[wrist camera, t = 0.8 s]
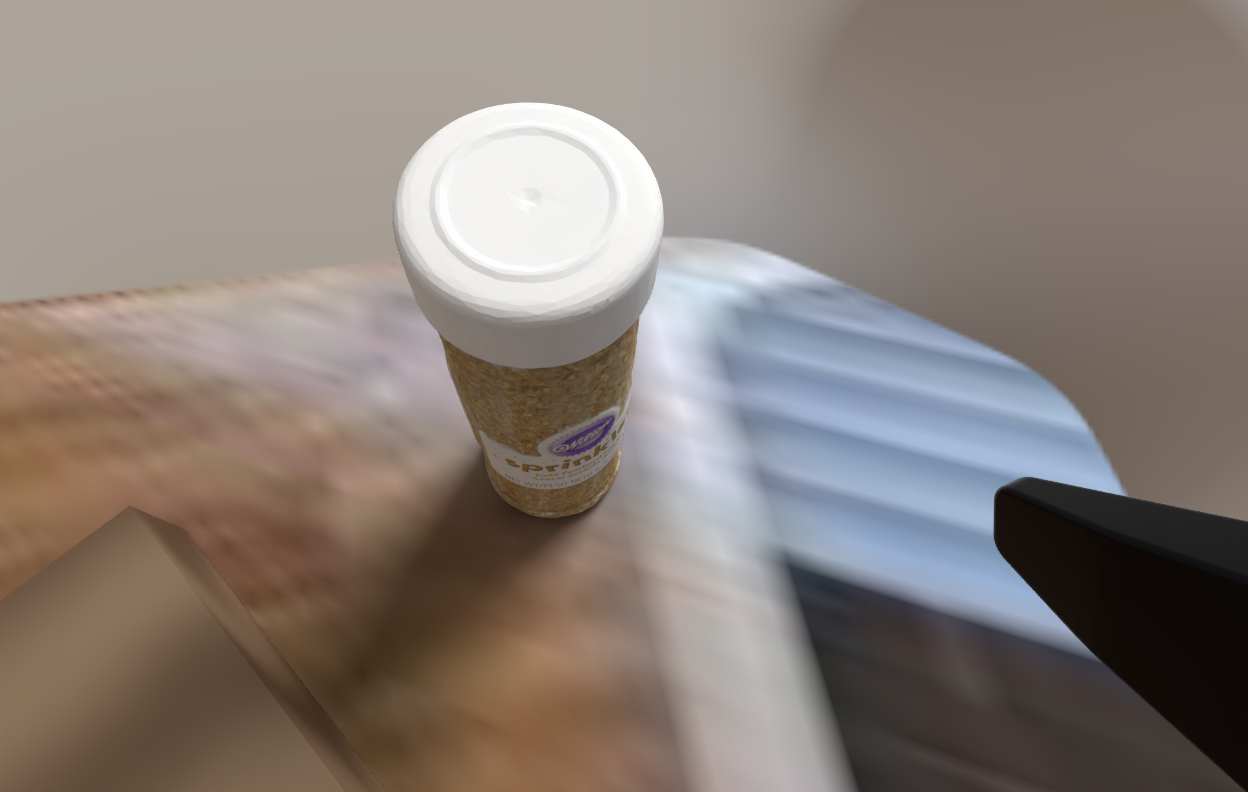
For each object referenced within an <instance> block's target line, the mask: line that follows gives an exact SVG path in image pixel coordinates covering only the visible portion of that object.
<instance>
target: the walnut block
mask: <svg viewBox="0 0 1248 792" xmlns="http://www.w3.org/2000/svg"><path fill="white" fill-rule="evenodd" d="M0 792H386V791H385V789H384V788H383V787H382V785H381V784H380V783H379V781H378V780H377V779H376V778H375V776H374V775H373V774H372V772H371V771H370V770H369V769H368V767H367V766H366V765H365V763H364V762H363V761H362V759H361V758H360V757H359V756H358V754H357V753H356V752H355V750H354V749H353V748H352V746H351V745H350V744H349V743H348V741H347V740H346V739H345V737H344V736H343V735H342V733H341V732H340V731H339V730H338V728H337V727H336V726H335V724H334V723H333V722H332V720H331V719H330V718H329V717H328V715H327V714H326V713H325V711H324V710H323V709H322V707H321V706H320V705H319V704H318V702H317V701H316V700H315V698H314V697H313V696H312V695H311V693H310V692H309V691H308V689H307V688H306V687H305V685H304V684H303V683H302V682H301V680H300V679H299V678H298V676H297V675H296V674H295V672H294V671H293V670H292V669H291V667H290V666H289V665H288V663H287V662H286V661H285V659H284V658H283V657H282V656H281V654H280V653H279V652H278V650H277V649H276V648H275V646H274V645H273V644H272V643H271V641H270V640H269V639H268V637H267V636H266V635H265V633H264V632H263V631H262V630H261V628H260V627H259V626H258V624H257V623H256V622H255V621H254V619H253V618H252V617H251V615H250V614H249V613H248V611H247V610H246V609H245V608H244V606H243V605H242V604H241V602H240V601H239V600H238V598H237V597H236V596H235V595H234V593H233V592H232V591H231V589H230V588H229V587H228V585H227V584H226V583H225V582H224V580H223V579H222V578H221V576H220V575H219V574H218V572H217V571H216V570H215V569H214V567H213V566H212V565H211V563H210V562H209V561H208V559H207V558H206V557H205V556H204V554H203V553H202V552H201V550H200V549H199V548H198V547H197V545H196V544H195V543H194V541H193V540H192V539H191V537H190V536H189V535H188V534H187V532H186V531H185V530H184V529H182V528H180V527H177V526H175V525H173V524H170V523H168V522H166V521H163V520H161V519H159V518H156V517H154V516H152V515H150V514H147V513H145V512H143V511H140V510H138V509H136V508H133V507H131V506H129V507H127V508H126V509H125V510H123V511H122V512H121V513H119V514H118V515H116V516H115V517H114V518H112V519H111V520H110V521H108V522H107V523H106V524H104V525H103V526H101V527H100V528H99V529H97V530H96V531H95V532H93V533H92V534H91V535H89V536H88V537H86V538H85V539H84V540H82V541H81V542H80V543H78V544H77V545H76V546H74V547H73V548H71V549H70V550H69V551H67V552H66V553H65V554H63V555H62V556H61V557H59V558H58V559H57V560H55V561H54V562H52V563H51V564H50V565H48V566H47V567H46V568H44V569H43V570H42V571H40V572H39V573H37V574H36V575H35V576H33V577H32V578H31V579H29V580H28V581H27V582H25V583H24V584H22V585H21V586H20V587H18V588H17V589H16V590H14V591H13V592H12V593H10V594H9V595H7V596H6V597H5V598H3V599H2V600H1V601H0Z"/></svg>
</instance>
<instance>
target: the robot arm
mask: <svg viewBox="0 0 1248 792" xmlns="http://www.w3.org/2000/svg"><path fill="white" fill-rule="evenodd" d="M994 541H995V544H996V547H997V549H998V551H999V552H1000V554H1001V555H1002V556H1003V558H1004V559H1005V560H1006V561H1007V562H1008V563H1009V564H1010V565H1011V566H1012V568H1013V569H1014V570H1015V571H1016V572H1017V573H1018V574H1019V575H1020V576H1021V577H1022V578H1023V579H1024V581H1025V582H1026V583H1027V584H1028V585H1029V586H1030V587H1031V588H1032V589H1033V590H1034V591H1035V592H1036V593H1037V595H1038V596H1039V597H1040V598H1041V599H1042V600H1043V601H1044V602H1045V603H1046V604H1047V605H1048V606H1049V608H1050V609H1051V610H1052V611H1053V612H1054V613H1055V614H1056V615H1057V616H1058V617H1059V618H1060V619H1061V621H1062V622H1063V623H1064V624H1065V625H1066V626H1067V627H1068V628H1069V629H1070V630H1071V631H1072V632H1073V634H1074V635H1075V636H1076V637H1077V638H1078V639H1079V640H1080V641H1081V642H1082V643H1083V644H1084V645H1085V646H1086V647H1087V648H1088V649H1089V650H1090V651H1091V652H1092V653H1093V654H1094V655H1095V656H1096V657H1097V658H1098V659H1100V660H1101V661H1102V662H1103V663H1104V664H1105V665H1106V666H1107V667H1108V668H1109V669H1110V670H1111V671H1112V672H1114V673H1115V674H1116V675H1117V676H1118V677H1119V678H1120V679H1121V680H1122V681H1124V682H1125V683H1126V684H1127V685H1128V686H1129V687H1130V688H1131V689H1132V690H1134V691H1135V692H1136V693H1137V694H1138V695H1139V696H1140V697H1141V698H1142V699H1143V700H1145V701H1146V702H1147V703H1148V704H1149V705H1150V706H1151V707H1152V708H1153V709H1155V710H1156V711H1157V712H1158V713H1159V714H1160V715H1161V716H1162V717H1163V718H1165V719H1166V720H1167V721H1168V722H1169V723H1170V724H1171V725H1172V726H1173V727H1175V728H1176V729H1177V730H1178V731H1179V732H1180V733H1181V734H1182V735H1183V736H1184V737H1186V738H1187V739H1188V740H1189V741H1190V742H1191V743H1192V744H1193V745H1194V746H1196V747H1197V748H1198V749H1199V750H1200V751H1201V752H1202V753H1203V754H1204V755H1206V756H1207V757H1208V758H1209V759H1210V760H1211V761H1212V762H1213V763H1214V764H1216V765H1217V766H1218V767H1219V768H1220V769H1221V770H1222V771H1223V772H1224V773H1225V774H1227V775H1228V776H1229V777H1230V778H1231V779H1232V780H1233V781H1234V782H1235V783H1237V784H1238V785H1239V786H1240V787H1241V788H1242V789H1243V790H1244V791H1245V792H1248V521H1243V520H1238V519H1233V518H1228V517H1223V516H1218V515H1214V514H1209V513H1204V512H1199V511H1194V510H1190V509H1184V508H1180V507H1175V506H1169V505H1165V504H1160V503H1155V502H1150V501H1146V500H1141V499H1136V498H1131V497H1126V496H1121V495H1116V494H1112V493H1107V492H1102V491H1097V490H1092V489H1087V488H1082V487H1077V486H1073V485H1068V484H1063V483H1058V482H1053V481H1048V480H1043V479H1038V478H1033V477H1023V478H1019V479H1017V480H1015V481H1013V482H1011V483H1009V484H1006V485H1004V486H1002V487H1000V488H999V489H998V490H997V492H996V493H995V496H994Z"/></svg>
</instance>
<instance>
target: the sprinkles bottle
mask: <svg viewBox="0 0 1248 792" xmlns="http://www.w3.org/2000/svg"><path fill="white" fill-rule="evenodd" d="M663 216H664V215H663V204H662V199H661V194H660V190H659V187H658V184H657V181H656V179H655V176H654V174H653V172H652V170H651V168H650V166H649V165H648V163H647V161H646V160H645V158H644V157H643V155H642V154H641V153H640V152H639V150H638V149H637V148H636V147H635V146H634V145H633V144H632V143H631V142H630V141H629V140H628V139H627V138H626V137H624V136H623V135H622V134H620V132H618V131H617V130H616V129H614V128H612V127H611V126H609V125H608V124H606V123H605V122H603V121H601V120H599V119H597V118H595V117H593V116H590V115H588V114H585V113H583V112H580V111H577V110H575V109H572V108H568V107H563V106H559V105H554V104H544V103H513V104H505V105H498V106H493V107H489V108H485V109H482V110H479V111H476V112H473V113H470V114H468V115H465V116H463V117H461V118H459V119H457V120H455V121H453V122H452V123H450V124H448V125H447V126H445V127H444V128H442V129H441V130H439V131H438V132H437V133H435V134H434V135H433V136H432V137H431V138H429V139H428V140H427V141H426V142H425V143H424V144H423V145H422V146H421V147H420V149H419V150H418V151H417V152H416V153H415V155H414V156H413V157H412V158H411V160H410V161H409V163H408V165H407V167H406V168H405V170H404V172H403V174H402V176H401V178H400V181H399V184H398V186H397V190H396V194H395V198H394V204H393V229H394V236H395V241H396V244H397V248H398V251H399V254H400V258H401V261H402V264H403V267H404V270H405V273H406V275H407V278H408V281H409V283H410V286H411V288H412V291H413V293H414V296H415V298H416V301H417V303H418V305H419V307H420V308H421V310H422V312H423V313H424V315H425V317H426V318H427V320H428V321H429V322H430V324H431V325H432V326H433V327H434V328H435V329H436V330H437V331H438V333H439V335H440V338H441V340H442V343H443V346H444V349H445V357H446V362H447V366H448V370H449V373H450V376H451V378H452V381H453V383H454V386H455V388H456V391H457V394H458V396H459V399H460V402H461V404H462V406H463V409H464V411H465V414H466V416H467V419H468V421H469V424H470V426H471V429H472V431H473V434H474V436H475V438H476V440H477V441H478V443H479V444H480V445H481V447H482V449H483V452H484V455H485V467H486V470H487V473H488V476H489V479H490V481H491V483H492V485H493V487H494V489H495V490H496V492H497V493H498V494H499V495H500V496H501V497H502V498H503V499H504V500H505V501H506V502H507V503H508V504H510V505H511V506H513V507H515V508H517V509H519V510H520V511H522V512H525V513H527V514H529V515H532V516H537V517H542V518H560V517H562V516H570V515H573V514H577V513H581V512H583V511H584V510H586V509H588V508H591V507H593V506H594V505H595V504H596V503H597V502H598V501H599V500H600V499H601V498H602V497H603V496H604V495H605V494H606V493H607V491H608V490H609V489H610V487H611V485H612V484H613V482H614V480H615V478H616V476H617V474H618V471H619V468H620V464H621V441H622V438H623V435H624V431H625V425H626V419H627V412H628V407H629V402H630V396H631V390H632V369H633V365H634V356H635V349H636V344H637V331H638V325H639V316H640V314H641V313H642V311H643V309H644V307H645V306H646V304H647V302H648V300H649V298H650V295H651V293H652V290H653V286H654V282H655V277H656V271H657V266H658V260H659V254H660V247H661V240H662V233H663V222H664V220H663V219H664V217H663Z"/></svg>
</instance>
